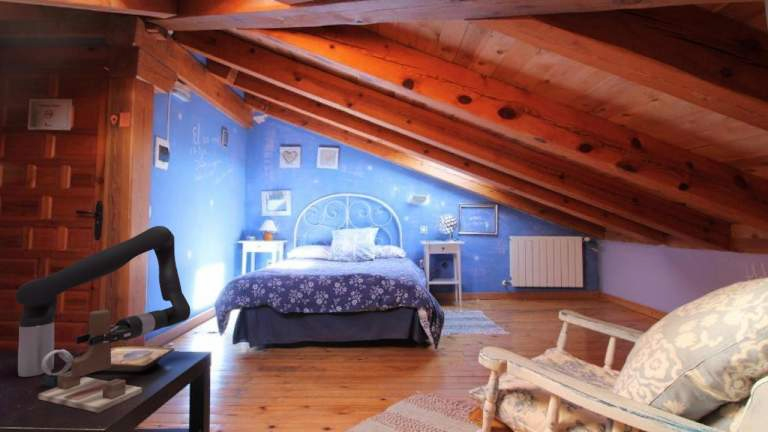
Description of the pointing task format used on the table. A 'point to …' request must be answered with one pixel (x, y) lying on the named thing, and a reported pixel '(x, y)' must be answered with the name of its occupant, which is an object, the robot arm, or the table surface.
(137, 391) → the striped wooden base
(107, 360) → the wooden block
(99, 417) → the table surface
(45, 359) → the watch
